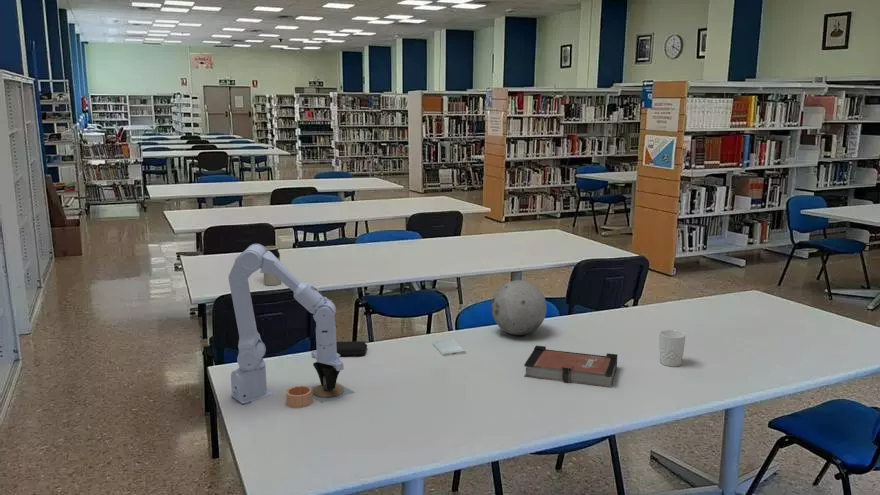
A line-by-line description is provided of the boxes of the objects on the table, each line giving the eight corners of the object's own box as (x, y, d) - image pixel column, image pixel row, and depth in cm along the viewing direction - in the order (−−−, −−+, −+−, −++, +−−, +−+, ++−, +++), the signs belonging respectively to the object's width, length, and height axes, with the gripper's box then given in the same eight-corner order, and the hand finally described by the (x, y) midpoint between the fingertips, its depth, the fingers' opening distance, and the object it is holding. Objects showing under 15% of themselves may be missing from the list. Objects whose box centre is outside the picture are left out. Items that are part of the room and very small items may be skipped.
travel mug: (279, 286, 321) (276, 248, 318) (262, 286, 321) (260, 249, 318) (283, 281, 329) (281, 245, 326) (266, 282, 329) (264, 245, 326)
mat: (321, 404, 190) (321, 402, 190) (302, 392, 198) (302, 390, 198) (354, 393, 197) (354, 392, 197) (334, 382, 205) (334, 381, 205)
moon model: (557, 335, 247) (558, 282, 243) (515, 346, 236) (516, 291, 232) (521, 322, 263) (522, 272, 259) (480, 331, 252) (480, 279, 248)
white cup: (687, 362, 219) (689, 333, 217) (677, 369, 214) (679, 339, 212) (664, 357, 224) (666, 328, 223) (653, 363, 219) (655, 334, 217)
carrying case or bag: (368, 347, 237) (326, 347, 237) (367, 338, 237) (325, 339, 237) (365, 357, 227) (321, 358, 227) (364, 349, 226) (320, 349, 226)
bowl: (294, 411, 186) (293, 398, 185) (282, 403, 191) (281, 390, 190) (316, 404, 190) (316, 391, 189) (304, 397, 195) (303, 384, 195)
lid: (323, 400, 191) (322, 385, 190) (307, 391, 198) (306, 376, 197) (349, 392, 197) (349, 377, 196) (333, 382, 204) (332, 368, 203)
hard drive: (432, 341, 238) (442, 353, 227) (454, 339, 241) (465, 350, 229) (432, 346, 239) (442, 358, 227) (454, 343, 241) (465, 355, 229)
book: (523, 378, 208) (523, 363, 207) (535, 359, 224) (536, 345, 223) (610, 390, 199) (611, 374, 198) (616, 369, 215) (617, 354, 214)
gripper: (351, 345, 192) (353, 390, 194) (325, 333, 203) (327, 376, 205) (330, 351, 187) (332, 397, 190) (304, 338, 198) (306, 382, 201)
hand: (328, 387), depth 197 cm, fingers closed on lid, 3 cm apart
